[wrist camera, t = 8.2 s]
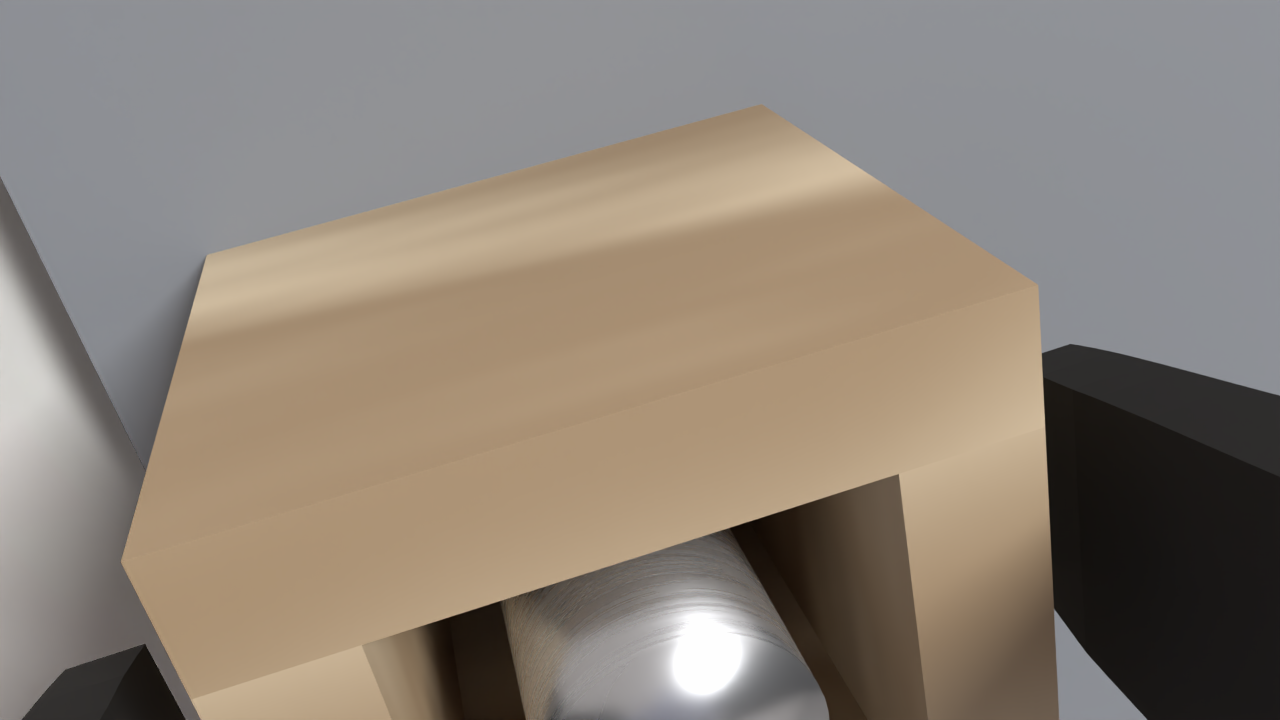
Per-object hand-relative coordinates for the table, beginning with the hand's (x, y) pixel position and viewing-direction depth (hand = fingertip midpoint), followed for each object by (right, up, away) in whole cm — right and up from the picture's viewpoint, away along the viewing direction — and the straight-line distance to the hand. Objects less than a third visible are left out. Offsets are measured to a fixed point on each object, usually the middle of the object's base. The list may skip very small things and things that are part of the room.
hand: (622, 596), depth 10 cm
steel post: (-1, +1, +3) cm, 3 cm away
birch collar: (-1, +1, +3) cm, 3 cm away
